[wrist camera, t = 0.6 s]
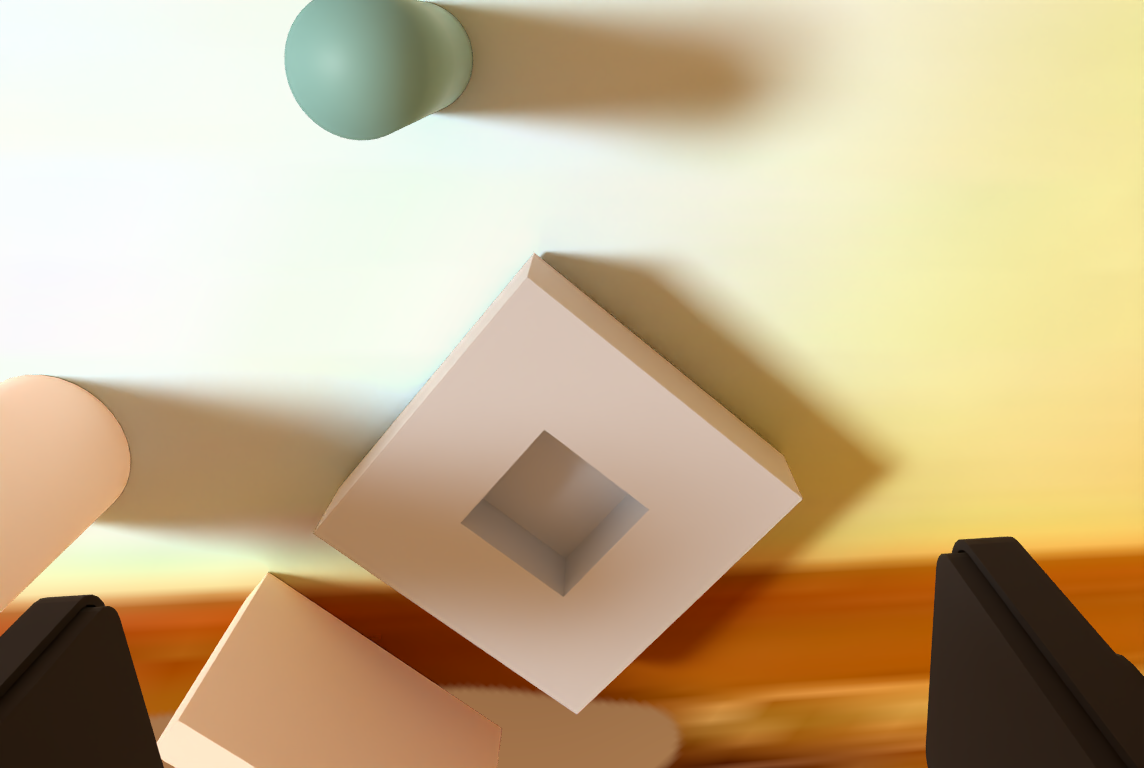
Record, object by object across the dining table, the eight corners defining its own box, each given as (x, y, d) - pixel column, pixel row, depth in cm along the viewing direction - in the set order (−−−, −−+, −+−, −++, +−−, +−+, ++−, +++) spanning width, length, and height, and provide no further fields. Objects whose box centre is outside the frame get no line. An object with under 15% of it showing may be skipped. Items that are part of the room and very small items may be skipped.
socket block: (533, 252, 37) (527, 276, 34) (783, 455, 40) (802, 498, 36) (338, 488, 41) (313, 533, 38) (578, 657, 44) (576, 714, 40)
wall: (268, 572, 43) (177, 720, 34) (502, 728, 46) (478, 904, 37) (245, 599, 44) (150, 752, 35) (478, 752, 47) (448, 931, 37)
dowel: (408, -23, 34) (337, -45, 25) (494, 50, 35) (456, 56, 25) (347, 65, 35) (257, 76, 26) (431, 134, 36) (373, 169, 27)
